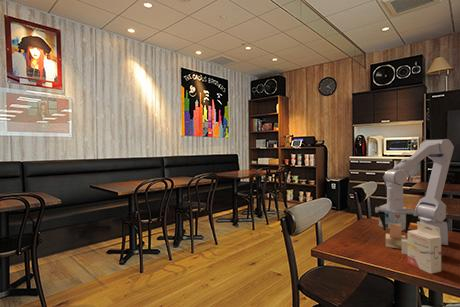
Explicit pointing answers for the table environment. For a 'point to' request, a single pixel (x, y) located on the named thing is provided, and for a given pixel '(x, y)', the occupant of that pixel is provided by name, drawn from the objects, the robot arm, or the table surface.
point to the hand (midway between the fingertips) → (395, 231)
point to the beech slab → (394, 242)
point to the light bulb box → (393, 219)
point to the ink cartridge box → (425, 248)
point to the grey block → (404, 246)
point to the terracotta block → (395, 231)
